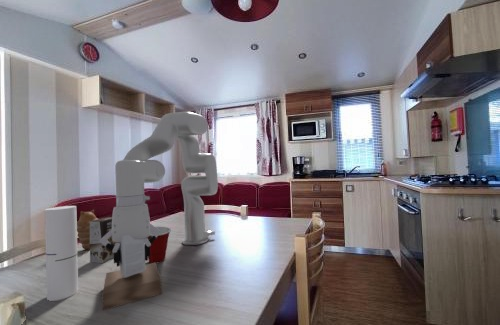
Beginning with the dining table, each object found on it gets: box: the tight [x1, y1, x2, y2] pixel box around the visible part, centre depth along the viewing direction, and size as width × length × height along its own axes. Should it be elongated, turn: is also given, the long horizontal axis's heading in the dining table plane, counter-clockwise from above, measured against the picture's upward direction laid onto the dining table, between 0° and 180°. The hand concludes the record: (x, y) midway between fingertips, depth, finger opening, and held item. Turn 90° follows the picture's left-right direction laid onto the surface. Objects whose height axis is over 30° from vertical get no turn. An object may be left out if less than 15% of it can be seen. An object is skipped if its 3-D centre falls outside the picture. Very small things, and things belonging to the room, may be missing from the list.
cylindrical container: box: [44, 205, 79, 302], centre depth 68 cm, size 7×7×25 cm
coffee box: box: [89, 216, 115, 264], centre depth 95 cm, size 9×6×16 cm
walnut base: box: [102, 263, 163, 310], centre depth 68 cm, size 14×14×4 cm
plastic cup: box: [147, 225, 172, 264], centre depth 90 cm, size 11×11×12 cm
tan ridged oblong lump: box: [77, 209, 99, 250], centre depth 107 cm, size 9×8×18 cm
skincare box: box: [119, 235, 146, 278], centre depth 68 cm, size 6×4×12 cm
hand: (132, 261), depth 68 cm, fingers closed on skincare box, 6 cm apart
